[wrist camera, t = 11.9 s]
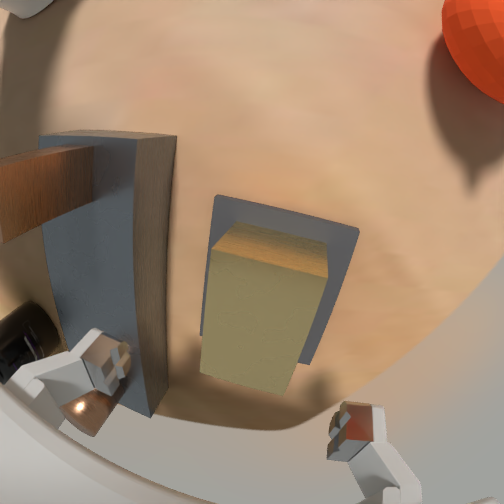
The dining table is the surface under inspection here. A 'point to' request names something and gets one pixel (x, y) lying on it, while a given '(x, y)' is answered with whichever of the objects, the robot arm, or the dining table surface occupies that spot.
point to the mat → (329, 232)
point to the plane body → (101, 248)
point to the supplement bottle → (25, 338)
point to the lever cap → (260, 305)
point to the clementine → (477, 42)
